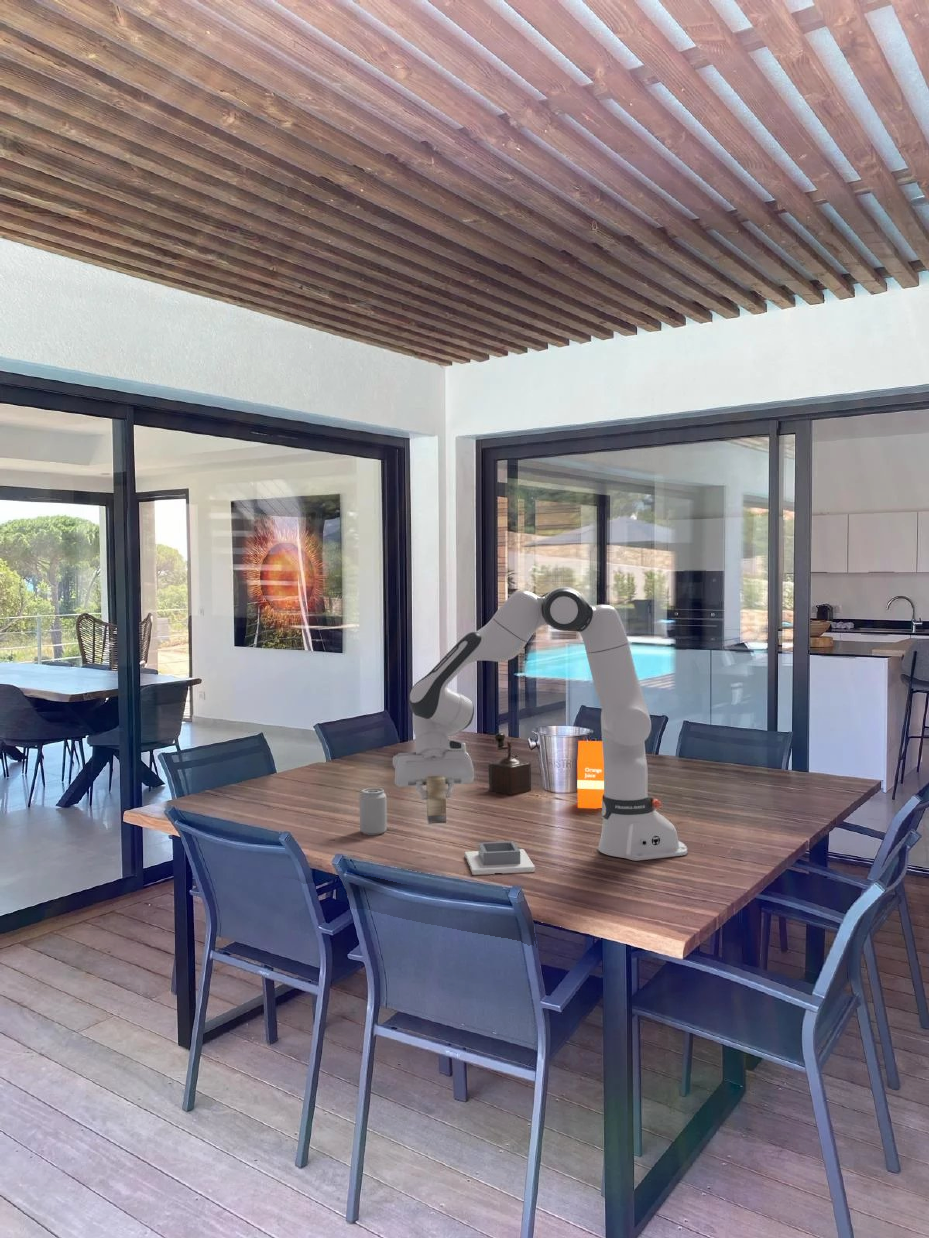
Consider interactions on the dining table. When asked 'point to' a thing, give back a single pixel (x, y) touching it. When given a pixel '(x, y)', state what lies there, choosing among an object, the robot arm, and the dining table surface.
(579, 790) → the orange juice
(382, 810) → the can
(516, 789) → the manual coffee grinder
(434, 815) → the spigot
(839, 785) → the dining table surface
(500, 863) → the dock
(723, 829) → the dining table surface
